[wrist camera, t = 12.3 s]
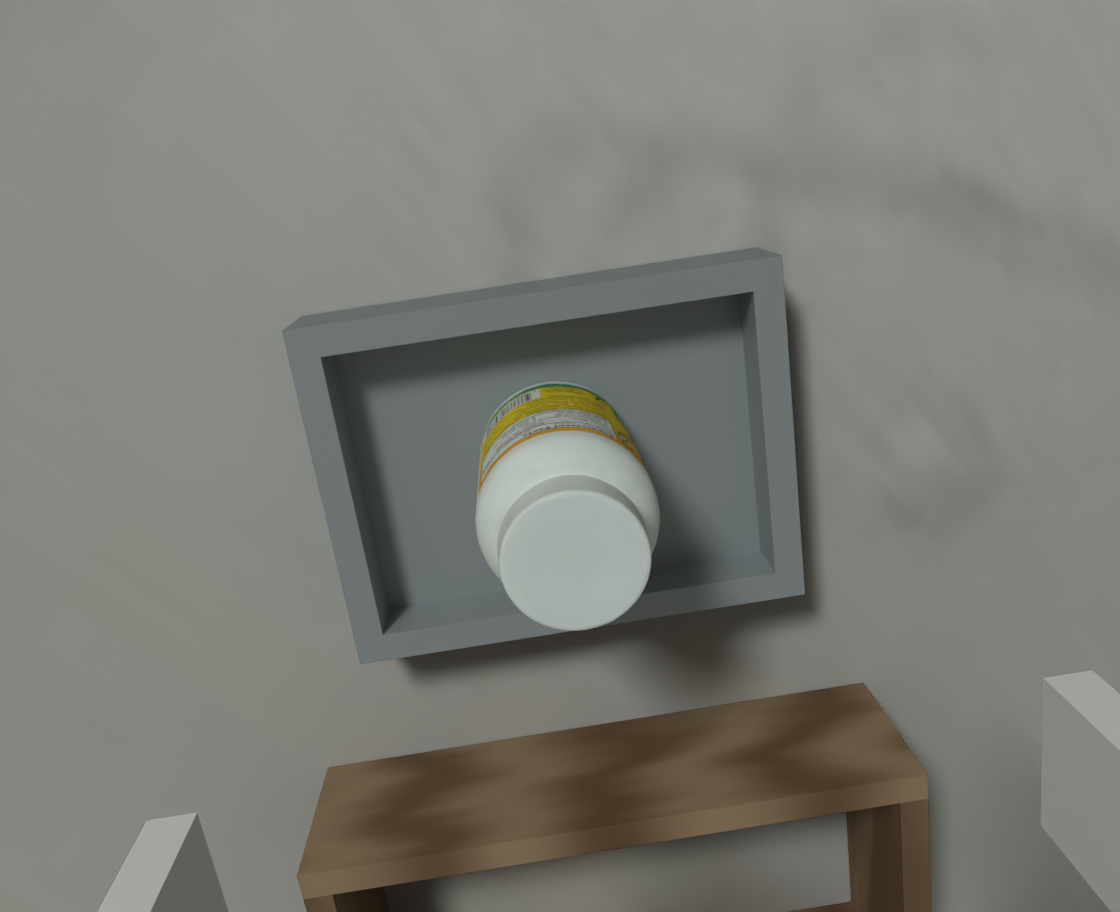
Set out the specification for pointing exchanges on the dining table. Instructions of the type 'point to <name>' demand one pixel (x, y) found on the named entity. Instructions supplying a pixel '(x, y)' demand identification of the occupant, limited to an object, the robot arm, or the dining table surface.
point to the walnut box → (630, 798)
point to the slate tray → (535, 357)
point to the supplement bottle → (565, 506)
